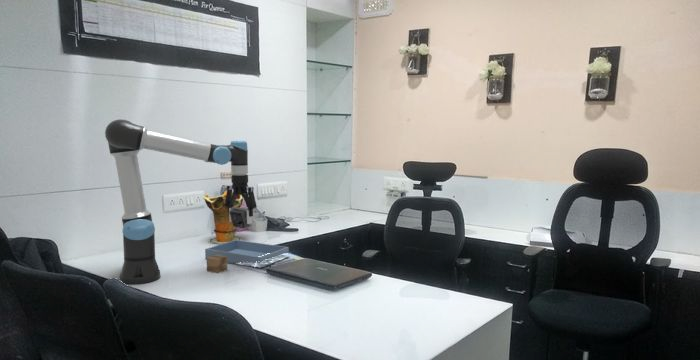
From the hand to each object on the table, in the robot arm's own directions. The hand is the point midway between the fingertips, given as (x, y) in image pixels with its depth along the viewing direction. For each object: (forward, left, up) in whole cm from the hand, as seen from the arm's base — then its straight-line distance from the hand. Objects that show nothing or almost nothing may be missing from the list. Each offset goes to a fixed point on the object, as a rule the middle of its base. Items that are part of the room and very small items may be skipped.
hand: (240, 222), depth 225 cm
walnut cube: (-18, -1, -18) cm, 25 cm away
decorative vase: (+28, +34, -18) cm, 48 cm away
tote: (+4, 0, -18) cm, 19 cm away
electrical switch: (0, 0, -2) cm, 2 cm away
